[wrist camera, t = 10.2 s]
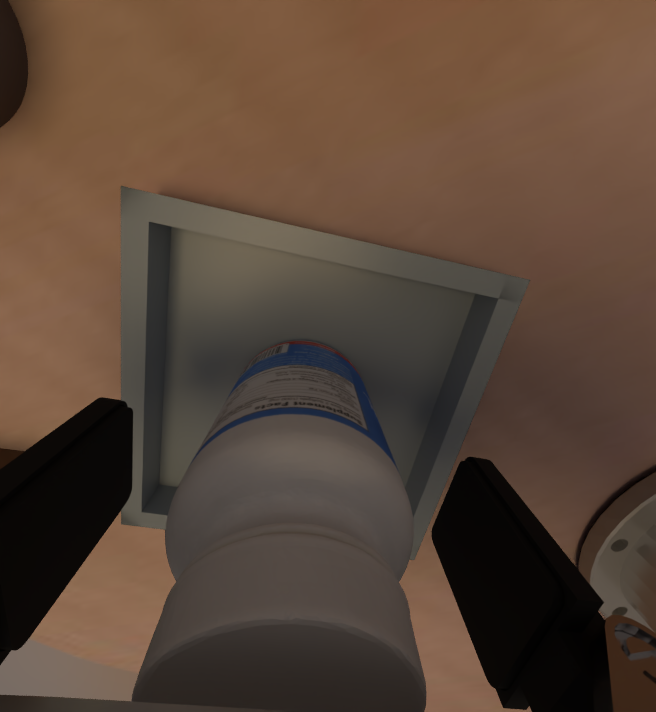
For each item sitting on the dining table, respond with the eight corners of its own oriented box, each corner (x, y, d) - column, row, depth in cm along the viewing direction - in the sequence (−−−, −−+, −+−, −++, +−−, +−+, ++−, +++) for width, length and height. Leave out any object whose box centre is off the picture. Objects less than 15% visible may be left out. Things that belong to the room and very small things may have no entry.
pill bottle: (351, 458, 15) (417, 821, 5) (232, 443, 14) (81, 821, 5) (378, 346, 13) (542, 602, 4) (243, 324, 12) (41, 563, 3)
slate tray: (494, 273, 13) (530, 279, 11) (402, 520, 17) (414, 559, 15) (156, 196, 11) (120, 185, 9) (146, 486, 15) (121, 524, 13)
